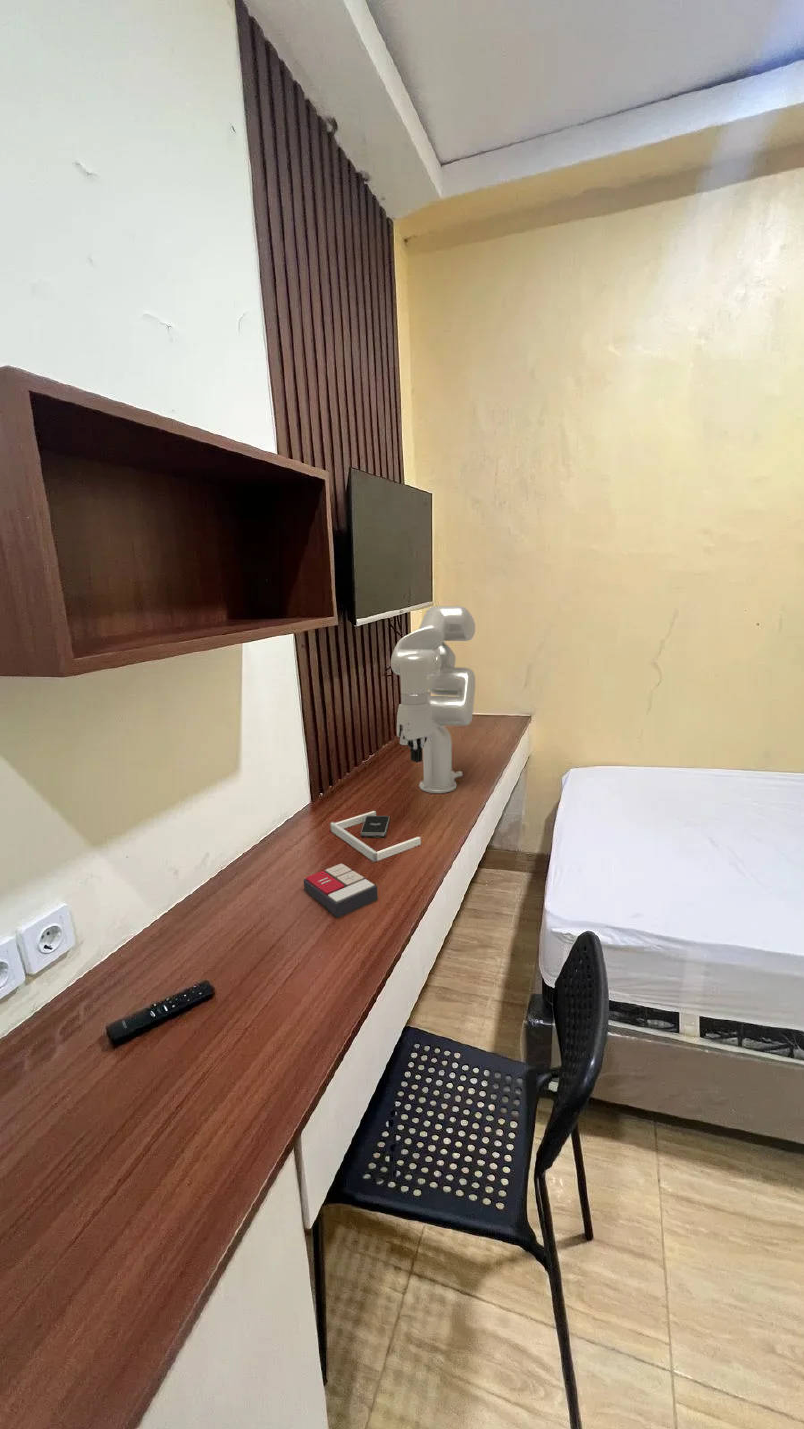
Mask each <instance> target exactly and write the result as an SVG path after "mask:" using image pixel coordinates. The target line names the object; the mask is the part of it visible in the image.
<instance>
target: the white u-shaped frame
mask: <svg viewBox="0 0 804 1429" xmlns="http://www.w3.org/2000/svg"><path fill="white" fill-rule="evenodd" d="M367 816H377V811H376V810H372V811H369V812H366V813H363V814H359V815H357V816H353V817H350V818H347V819H343V820H340V821H337V822H334V821H332V822H330V824H329V825H330V831H331V833H332V834H335V836H337V837H338V838H340V839H341V840H342V841H344V842H346V843H347V844H348V845H349V846H351V847H352V848H354V849H355V850H357V851H358V852H360V853H361V854H362V855H364V856H365V857H366V858H368V859H369V860H370V861H372V862H374V863H376V862H378V861H381V860H384V859H386V858H390V857H391V856H394V855H398V854H400V853H402V852H405V851H408V850H410V849H413V848H415V846H416V847H418V845H419V846H421V844H422V842H421V841H422V840H421V839H422V838H421V837H420V836H416V837H414V838H410V839H408V840H405V841H403V842H400V843H396V844H394V845H392V846H389V847H387V848H383V849H381V850H379V851H376V850H375V849H373V848H372V847H370V846H369V845H367V844H366V843H365V842H363V841H361V840H360V839H358V838H357V837H355V836H354V835H352V833H350V832H349V831H348V830H346V829H347V828H349V827H353V826H356V825H359V824H362V823H364V821H365V819H366V817H367Z"/></svg>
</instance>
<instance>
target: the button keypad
mask: <svg viewBox="0 0 804 1429" xmlns="http://www.w3.org/2000/svg"><path fill="white" fill-rule="evenodd" d="M303 888H304V891H305V892H306V893H307V894H308V895H310V896H311V897H312V898H313V899H315V901H317V902H318V903H319V904H320V905H321V906H323V907H325V908H326V910H327V911H328V912H330V913H331V914H332V915H333V916H334V917H335V918H336V919H337V918H341V917H343V916H345V915H348V914H350V913H353V912H354V911H356V910H359V909H361V908H362V907H365V906H367V905H369V904H370V905H371V904H372V903H374V902H376V901H378V900H379V898H378V886H377V885H376V884H375V883H373V882H371V881H370V880H369V879H367V878H365V877H364V876H363V875H361V874H360V873H358V872H356V871H354V870H353V869H351V868H350V867H348V866H347V865H345V864H343V863H339V864H336V865H334V866H331V867H329V868H326V869H324V870H321V871H318V872H317V873H316V872H315V873H314V874H312V875H309V876H306V877H305V878H303Z"/></svg>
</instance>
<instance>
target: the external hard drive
mask: <svg viewBox="0 0 804 1429" xmlns="http://www.w3.org/2000/svg"><path fill="white" fill-rule="evenodd" d="M390 822H391V821H390V816H388V815H376V816H367V817H366V819H365V821H364V822H363V825H362V827H361V830H360V837H361V838H368V839H369V838H373V839H374V838H376V839H377V838H378V839H382V838H383V839H385V838H386V837H387V832H388V828H389V824H390Z"/></svg>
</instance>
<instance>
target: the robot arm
mask: <svg viewBox="0 0 804 1429" xmlns="http://www.w3.org/2000/svg"><path fill="white" fill-rule="evenodd" d="M475 633H476V623H475V620H474V617H473V615H472V614H471V613H470V611H469V610H468V608H466V607H464V606H462V605H439V606H438V605H437V606H432V607H430V608H429V609H428V610H426V611H425V614H424V616H423V619H422V621H421V623H420V625H419V628H418V629H416V630H414V631H412V632H410V633H409V634H406V635H405V636H403V637H402V638H400V639H399V640H398V641H397V643H396V645H395V647H394V649H393V651H392V653H391V659H390V667H391V670H392V672H393V673H394V674H395V675H398V676H400V693H401V695H400V696H401V703H399V705H398V709H397V715H396V736H397V737H398V738H399V744H400V745H402V746H407V747H408V748H410V760H411V761H413V762H415V763H417V764H418V763H422V762H423V780H421V781H420V782H419V783H418V784H419V789H420V790H421V791H423V792H426V793H428V794H445V793H450V792H453V791H454V790H455V789H456V788H457V782H456V781H455V780H456V779H457V778H460V777H463V772H462V771H461V770H459V771H456V772H455V771H454V770H453V769H452V767H453V766H452V735H451V733H450V731H449V730H448V729H447V727H446V726H454V727H455V726H456V727H458V726H459V727H462V726H464V727H465V726H469V725H470V724H471V722H472V719H473V714H474V704H475V703H474V702H475V691H476V676H475V673H474V671H473V670H472V669H471V668H469V667H463V666H462V667H458V666H456V660H457V657H456V654H455V653H454V650H453V649H452V648H451V647H450V646H449V645H448V644H447V643H446V641H447V642H457V641H458V642H467V641H470V640H472V639H473V638H474V636H475ZM432 694H433V695H432Z"/></svg>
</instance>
